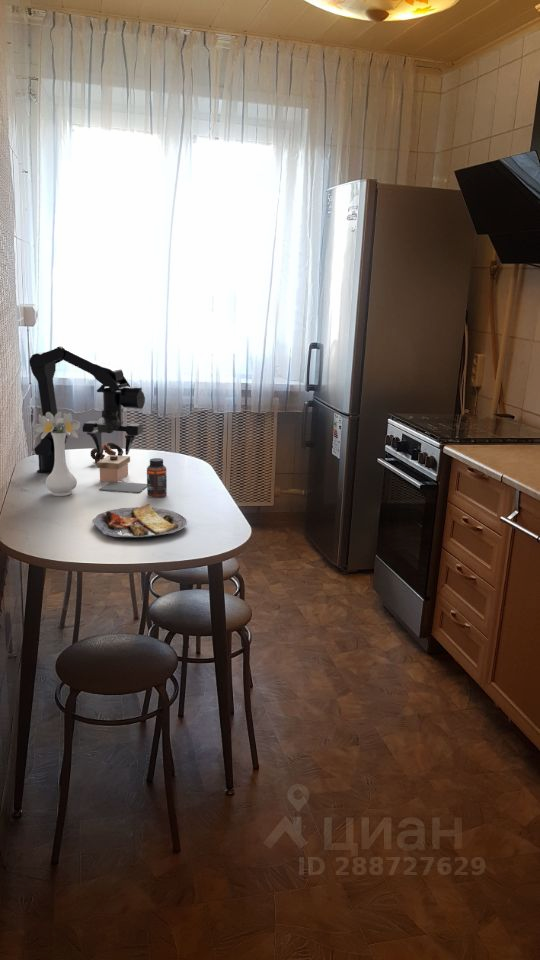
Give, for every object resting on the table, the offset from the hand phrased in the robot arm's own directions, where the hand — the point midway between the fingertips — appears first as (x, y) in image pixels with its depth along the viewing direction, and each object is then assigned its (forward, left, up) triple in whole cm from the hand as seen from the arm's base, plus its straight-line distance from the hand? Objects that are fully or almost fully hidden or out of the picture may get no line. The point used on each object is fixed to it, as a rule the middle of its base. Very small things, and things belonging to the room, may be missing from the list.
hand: (113, 453), depth 251 cm
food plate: (+25, -48, -9) cm, 55 cm away
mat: (+8, -11, -8) cm, 16 cm away
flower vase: (-9, -22, -8) cm, 25 cm away
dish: (0, 0, -8) cm, 8 cm away
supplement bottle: (+20, -17, -8) cm, 28 cm away
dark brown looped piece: (-10, +19, -8) cm, 24 cm away
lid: (0, 0, -4) cm, 4 cm away
